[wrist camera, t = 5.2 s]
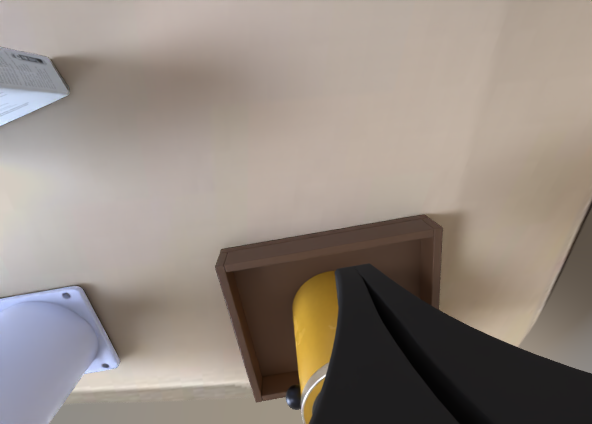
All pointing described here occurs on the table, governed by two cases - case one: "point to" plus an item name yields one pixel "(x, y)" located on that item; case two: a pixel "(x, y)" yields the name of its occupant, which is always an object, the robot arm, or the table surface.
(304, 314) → the pot
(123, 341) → the table surface
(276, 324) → the tray
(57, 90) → the ink box
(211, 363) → the table surface
